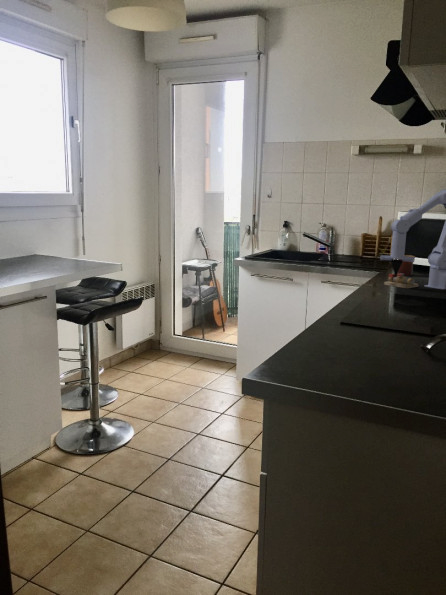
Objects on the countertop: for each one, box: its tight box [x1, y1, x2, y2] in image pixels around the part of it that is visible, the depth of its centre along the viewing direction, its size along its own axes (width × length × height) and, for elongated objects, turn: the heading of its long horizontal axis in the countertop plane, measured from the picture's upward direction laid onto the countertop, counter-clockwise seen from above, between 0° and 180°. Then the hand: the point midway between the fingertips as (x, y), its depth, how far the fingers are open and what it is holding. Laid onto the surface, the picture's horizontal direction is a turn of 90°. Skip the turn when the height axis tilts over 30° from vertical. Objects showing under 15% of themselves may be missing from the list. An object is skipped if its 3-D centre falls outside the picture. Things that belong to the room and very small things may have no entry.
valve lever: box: [388, 273, 405, 278], centre depth 229 cm, size 9×2×1 cm, turn 123°
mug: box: [397, 254, 416, 277], centre depth 263 cm, size 12×9×10 cm
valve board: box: [383, 276, 419, 289], centre depth 231 cm, size 12×9×4 cm
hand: (395, 276), depth 226 cm, fingers closed, pressing on valve lever
